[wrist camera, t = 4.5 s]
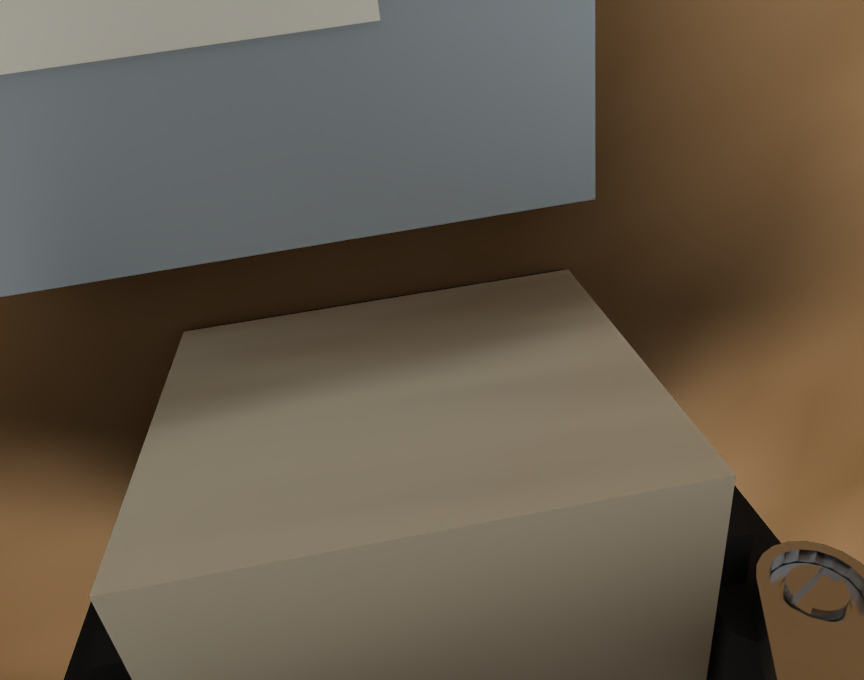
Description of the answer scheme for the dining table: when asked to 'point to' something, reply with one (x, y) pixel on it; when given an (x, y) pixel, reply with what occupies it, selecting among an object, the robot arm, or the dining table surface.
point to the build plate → (277, 125)
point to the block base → (419, 500)
